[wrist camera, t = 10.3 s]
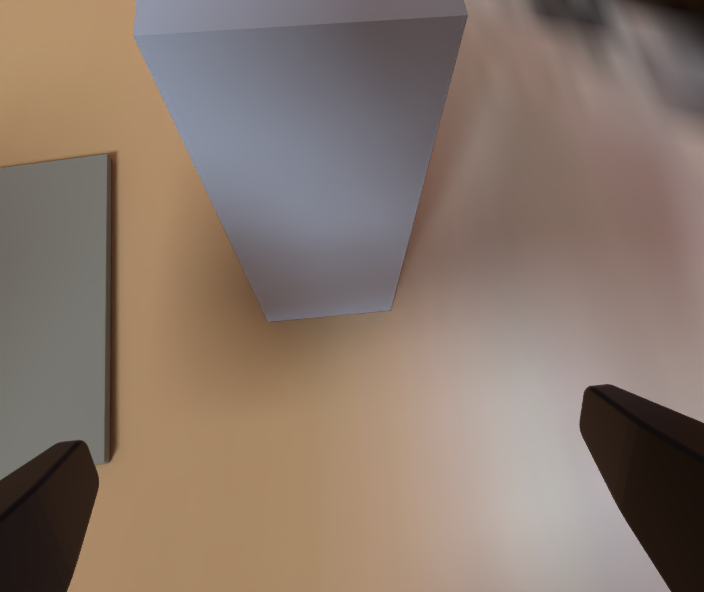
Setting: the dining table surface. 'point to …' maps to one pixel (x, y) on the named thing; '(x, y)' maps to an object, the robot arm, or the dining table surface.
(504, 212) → the dining table surface
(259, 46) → the grey-blue tall block
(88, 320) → the board
